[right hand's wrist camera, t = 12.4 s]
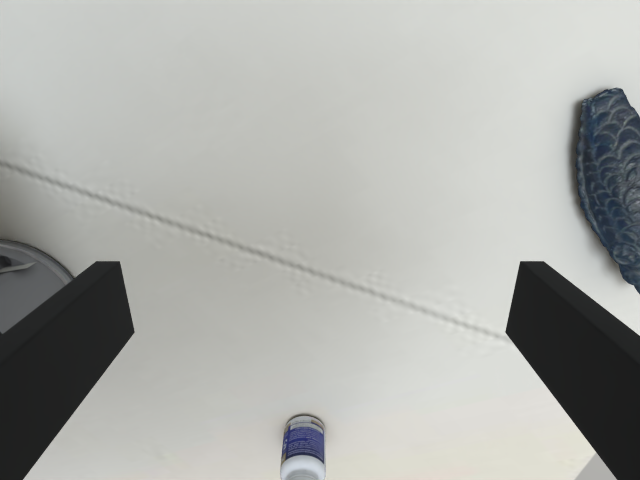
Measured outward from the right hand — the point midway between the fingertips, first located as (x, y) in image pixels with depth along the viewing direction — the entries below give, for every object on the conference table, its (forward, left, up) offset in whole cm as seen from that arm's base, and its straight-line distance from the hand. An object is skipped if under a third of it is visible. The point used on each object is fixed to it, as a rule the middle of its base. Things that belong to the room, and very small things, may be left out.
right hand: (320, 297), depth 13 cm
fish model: (+25, -15, -26) cm, 39 cm away
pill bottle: (-16, -30, -26) cm, 43 cm away
